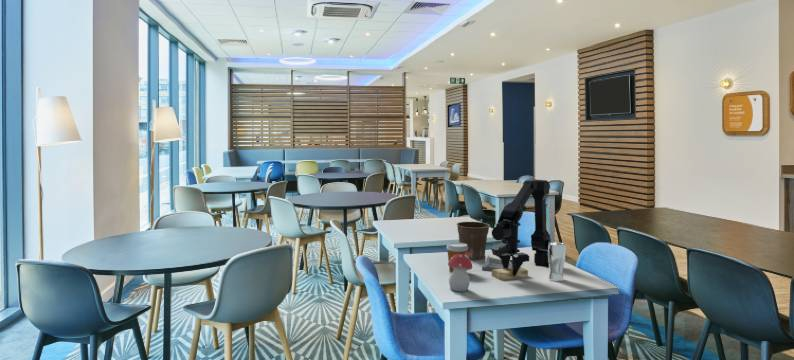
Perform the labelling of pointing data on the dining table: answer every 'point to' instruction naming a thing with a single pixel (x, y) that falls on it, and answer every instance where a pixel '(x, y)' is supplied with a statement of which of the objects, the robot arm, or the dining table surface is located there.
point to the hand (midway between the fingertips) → (509, 273)
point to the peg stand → (492, 265)
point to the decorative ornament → (460, 272)
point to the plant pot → (474, 237)
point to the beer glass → (556, 260)
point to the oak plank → (509, 273)
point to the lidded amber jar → (456, 250)
